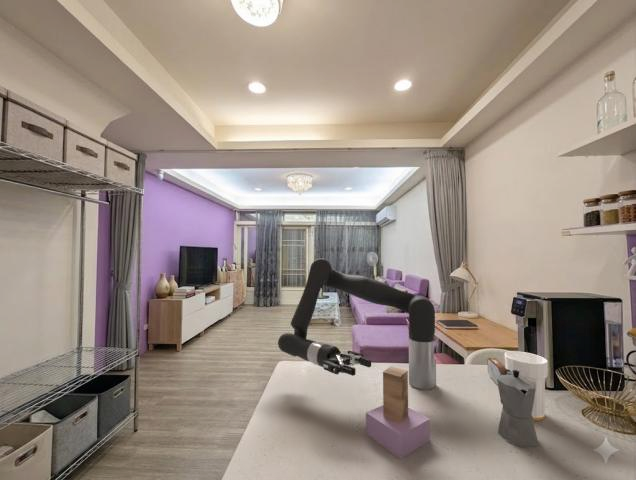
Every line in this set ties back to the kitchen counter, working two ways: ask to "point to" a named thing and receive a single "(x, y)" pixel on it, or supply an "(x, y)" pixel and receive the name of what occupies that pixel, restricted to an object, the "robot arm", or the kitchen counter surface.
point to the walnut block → (395, 394)
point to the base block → (398, 431)
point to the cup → (530, 376)
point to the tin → (495, 368)
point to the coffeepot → (517, 409)
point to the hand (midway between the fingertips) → (363, 367)
